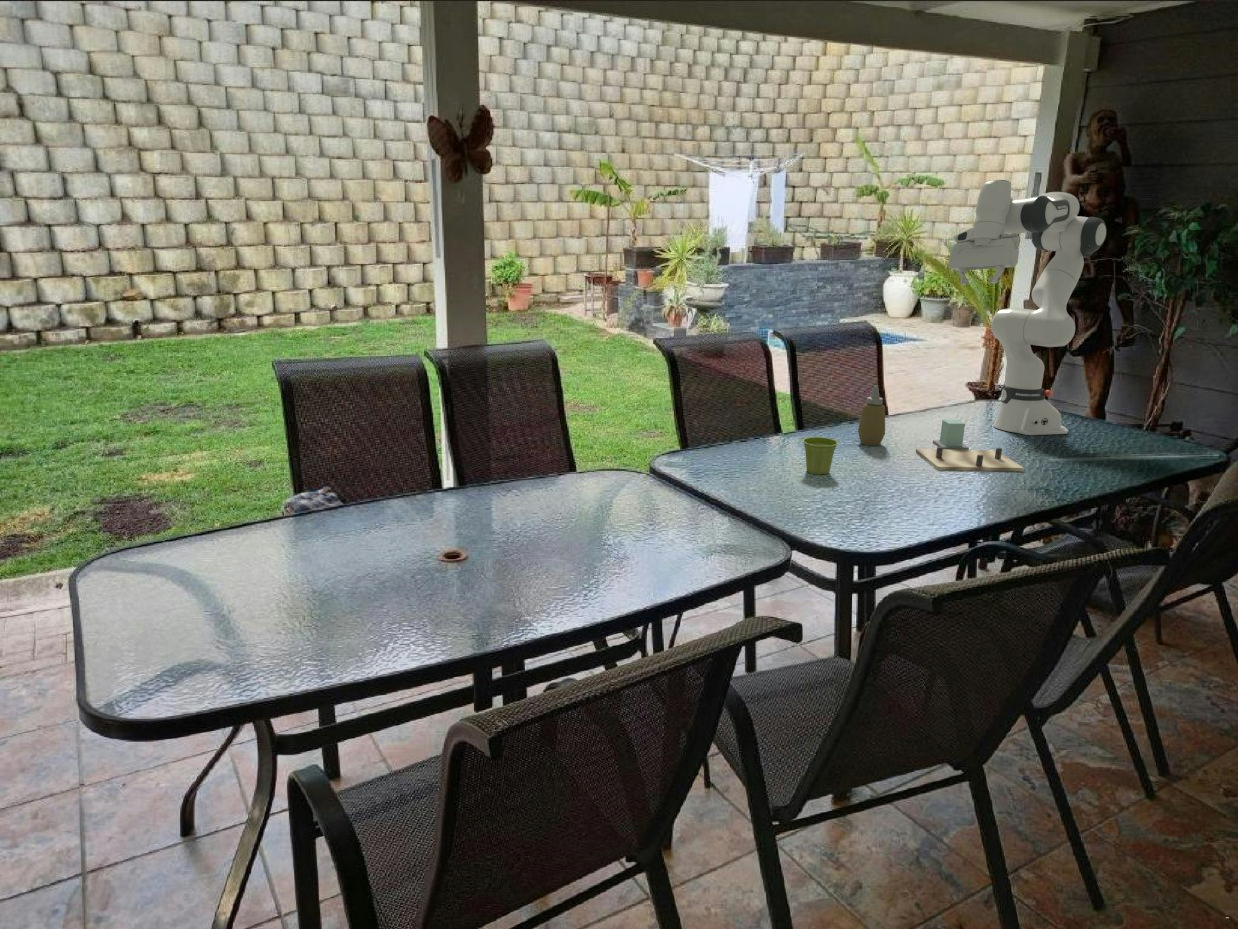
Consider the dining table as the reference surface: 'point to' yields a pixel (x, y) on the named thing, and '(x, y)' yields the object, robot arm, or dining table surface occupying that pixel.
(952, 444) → the flange block
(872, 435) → the squeeze bottle
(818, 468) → the plant pot
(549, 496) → the dining table surface
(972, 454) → the locating board
